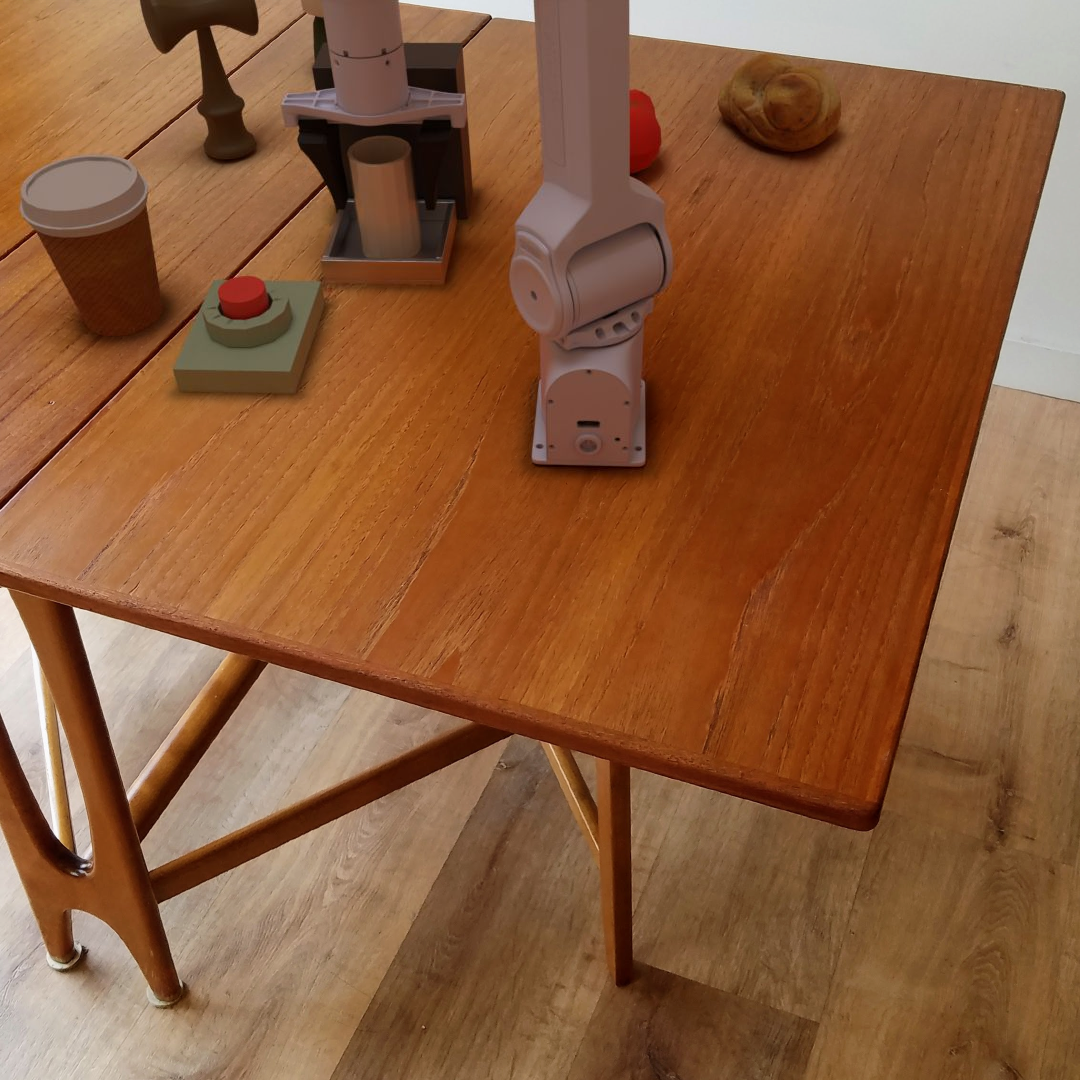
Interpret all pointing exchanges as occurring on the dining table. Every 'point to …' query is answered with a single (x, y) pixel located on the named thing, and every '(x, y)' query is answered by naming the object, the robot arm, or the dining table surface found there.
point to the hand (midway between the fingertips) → (387, 204)
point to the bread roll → (781, 103)
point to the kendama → (208, 62)
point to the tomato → (643, 131)
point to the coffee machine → (428, 71)
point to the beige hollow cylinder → (385, 197)
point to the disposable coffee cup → (98, 238)
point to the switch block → (252, 342)
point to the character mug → (316, 23)
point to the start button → (243, 298)
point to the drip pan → (424, 268)
